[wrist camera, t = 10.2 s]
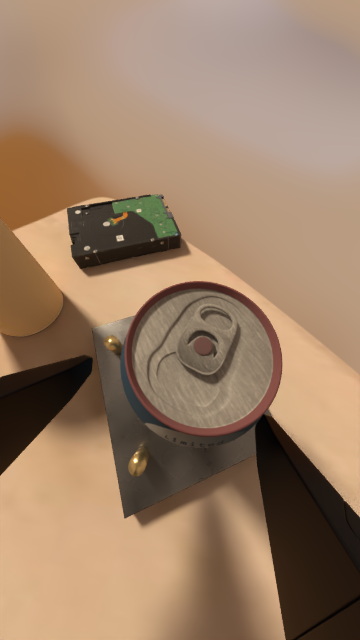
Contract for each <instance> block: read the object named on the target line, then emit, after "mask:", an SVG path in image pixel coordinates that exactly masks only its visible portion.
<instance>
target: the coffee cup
mask: <svg viewBox="0 0 360 640" xmlns="http://www.w3.org/2000/svg"><path fill="white" fill-rule="evenodd" d="M62 306H63V295H62V293H61V291H60V289H59V288H58V287H57V285H56V284H55V283H54V281H53V280H52V279H51V278H50V277H49V275H48V274H47V273H46V272H45V271H44V269H43V268H42V267H41V266H40V264H39V263H38V262H37V261H36V260H35V258H34V257H33V256H32V255H31V254H30V252H29V251H28V250H27V249H26V248H25V246H24V245H23V244H22V243H21V242H20V240H19V239H18V238H17V237H16V236H15V235H14V233H13V232H12V231H11V230H10V229H9V227H8V226H7V225H6V224H5V223H4V222H3V220H2V219H1V218H0V333H3V334H6V335H10V336H19V337H21V336H28V335H32V334H35V333H38V332H40V331H42V330H43V329H45V328H47V327H48V326H49V325H50V324H52V323H53V322H54V321H55V319H56V318H57V317H58V315H59V314H60V312H61V310H62Z"/></svg>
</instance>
